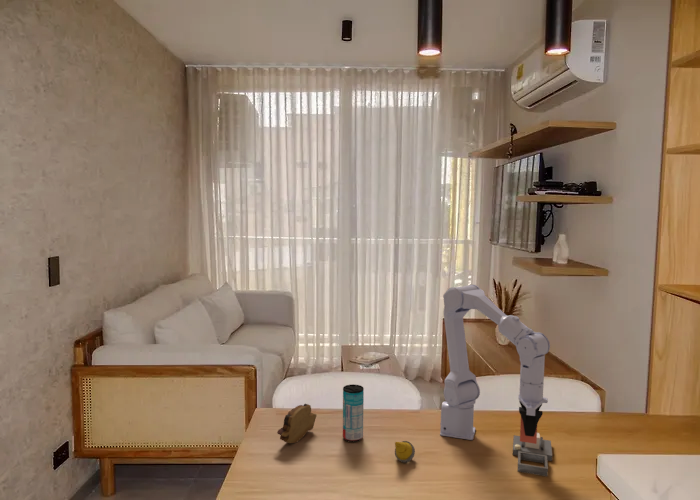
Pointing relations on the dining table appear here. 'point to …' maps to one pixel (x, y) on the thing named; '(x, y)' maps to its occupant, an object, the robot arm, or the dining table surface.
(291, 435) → the wooden carving
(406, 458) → the yellow flanged cylinder
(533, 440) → the peg
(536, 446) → the switch
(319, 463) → the dining table surface
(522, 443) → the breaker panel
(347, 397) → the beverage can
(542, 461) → the frame
